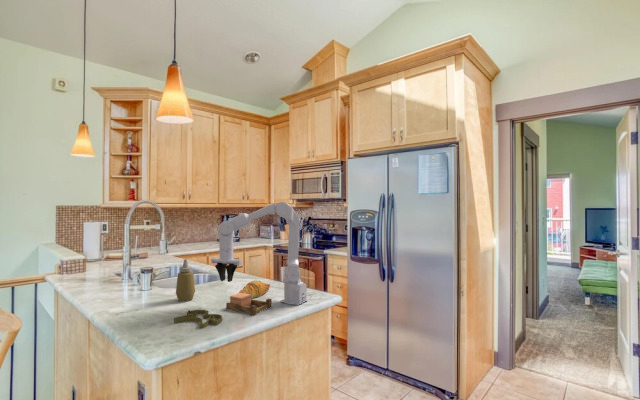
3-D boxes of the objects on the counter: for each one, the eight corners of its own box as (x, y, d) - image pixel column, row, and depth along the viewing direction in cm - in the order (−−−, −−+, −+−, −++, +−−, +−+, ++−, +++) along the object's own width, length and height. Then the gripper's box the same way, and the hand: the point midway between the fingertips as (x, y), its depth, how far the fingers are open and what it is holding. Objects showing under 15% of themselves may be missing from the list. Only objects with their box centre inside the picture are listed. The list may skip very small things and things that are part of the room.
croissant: (241, 309, 147) (247, 294, 145) (227, 295, 152) (233, 281, 150) (272, 296, 165) (278, 283, 163) (259, 285, 170) (264, 271, 168)
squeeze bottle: (188, 303, 145) (188, 261, 145) (171, 302, 146) (171, 260, 146) (198, 298, 153) (198, 258, 153) (182, 297, 154) (182, 257, 154)
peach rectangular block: (251, 305, 141) (251, 294, 141) (241, 309, 135) (241, 298, 135) (240, 302, 144) (240, 292, 144) (229, 306, 138) (229, 296, 138)
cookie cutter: (169, 323, 122) (169, 317, 122) (194, 313, 133) (194, 308, 133) (206, 331, 115) (207, 325, 115) (230, 319, 126) (230, 314, 126)
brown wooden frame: (271, 307, 139) (271, 299, 139) (253, 315, 129) (253, 306, 129) (242, 302, 146) (242, 294, 146) (223, 309, 136) (223, 300, 136)
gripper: (246, 248, 144) (246, 280, 144) (218, 247, 150) (218, 277, 150) (236, 251, 138) (236, 284, 138) (207, 249, 143) (207, 281, 143)
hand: (226, 281), depth 143 cm, fingers open, 3 cm apart
